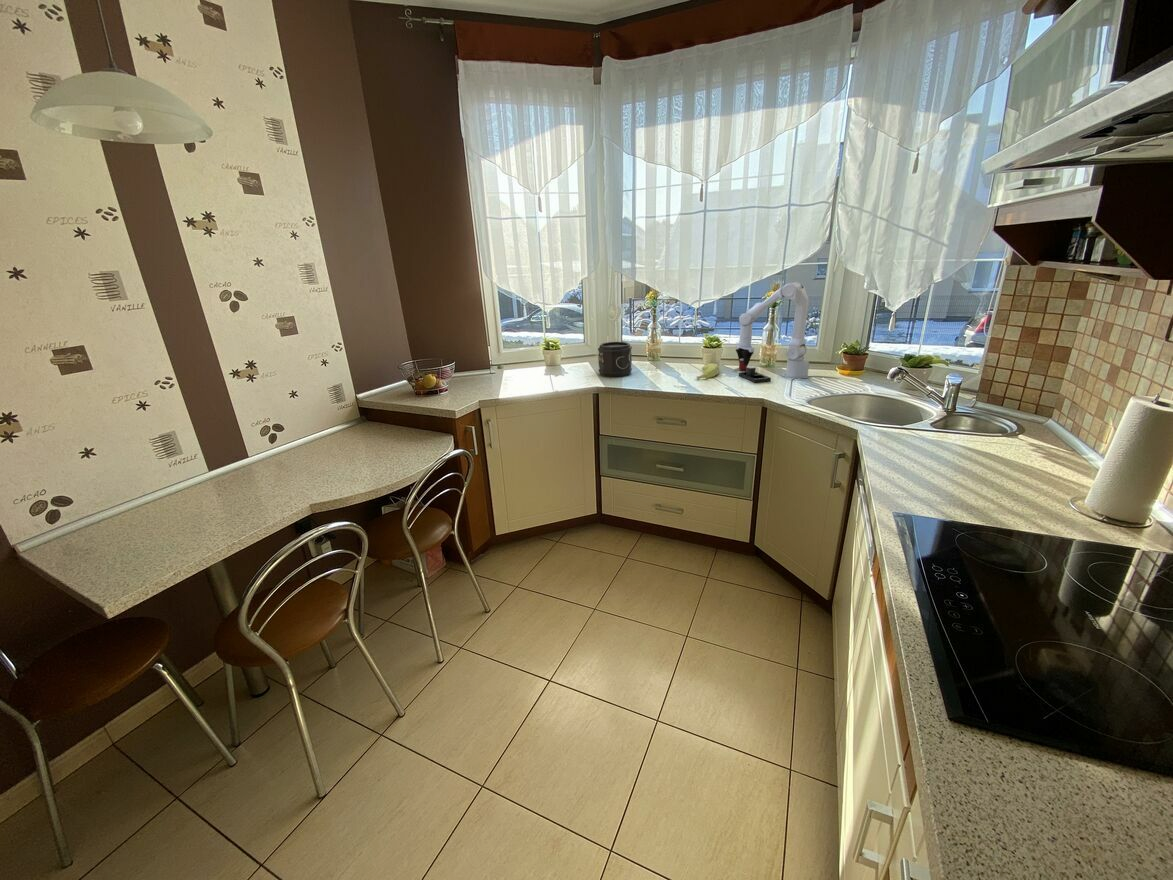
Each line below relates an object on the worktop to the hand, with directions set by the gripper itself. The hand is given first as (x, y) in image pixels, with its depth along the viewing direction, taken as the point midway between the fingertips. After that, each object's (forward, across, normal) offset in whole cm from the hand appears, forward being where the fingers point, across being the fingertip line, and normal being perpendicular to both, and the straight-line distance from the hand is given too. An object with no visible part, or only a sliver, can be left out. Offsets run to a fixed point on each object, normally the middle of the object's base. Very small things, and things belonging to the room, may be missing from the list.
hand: (743, 363), depth 246 cm
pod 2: (+3, +15, -4) cm, 16 cm away
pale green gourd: (+4, +2, -22) cm, 22 cm away
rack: (+4, +19, -4) cm, 19 cm away
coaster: (+4, 0, 0) cm, 4 cm away
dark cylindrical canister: (+4, -20, -63) cm, 66 cm away
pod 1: (+3, 0, 0) cm, 3 cm away
